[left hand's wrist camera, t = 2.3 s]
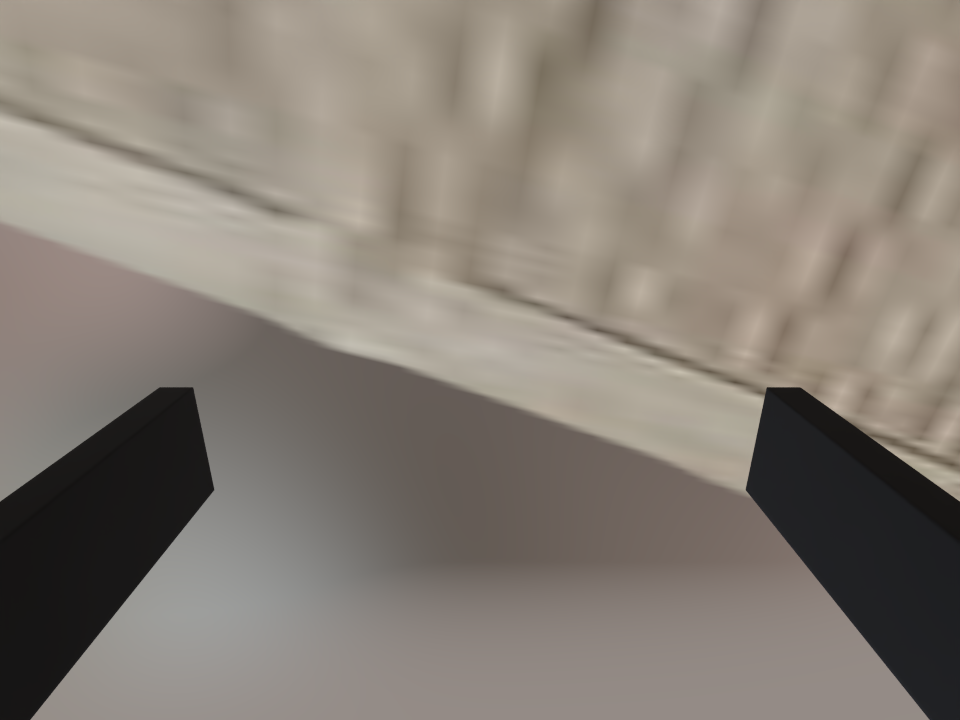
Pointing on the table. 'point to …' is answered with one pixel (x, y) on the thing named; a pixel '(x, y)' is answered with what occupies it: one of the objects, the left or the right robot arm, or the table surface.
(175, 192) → the table surface
